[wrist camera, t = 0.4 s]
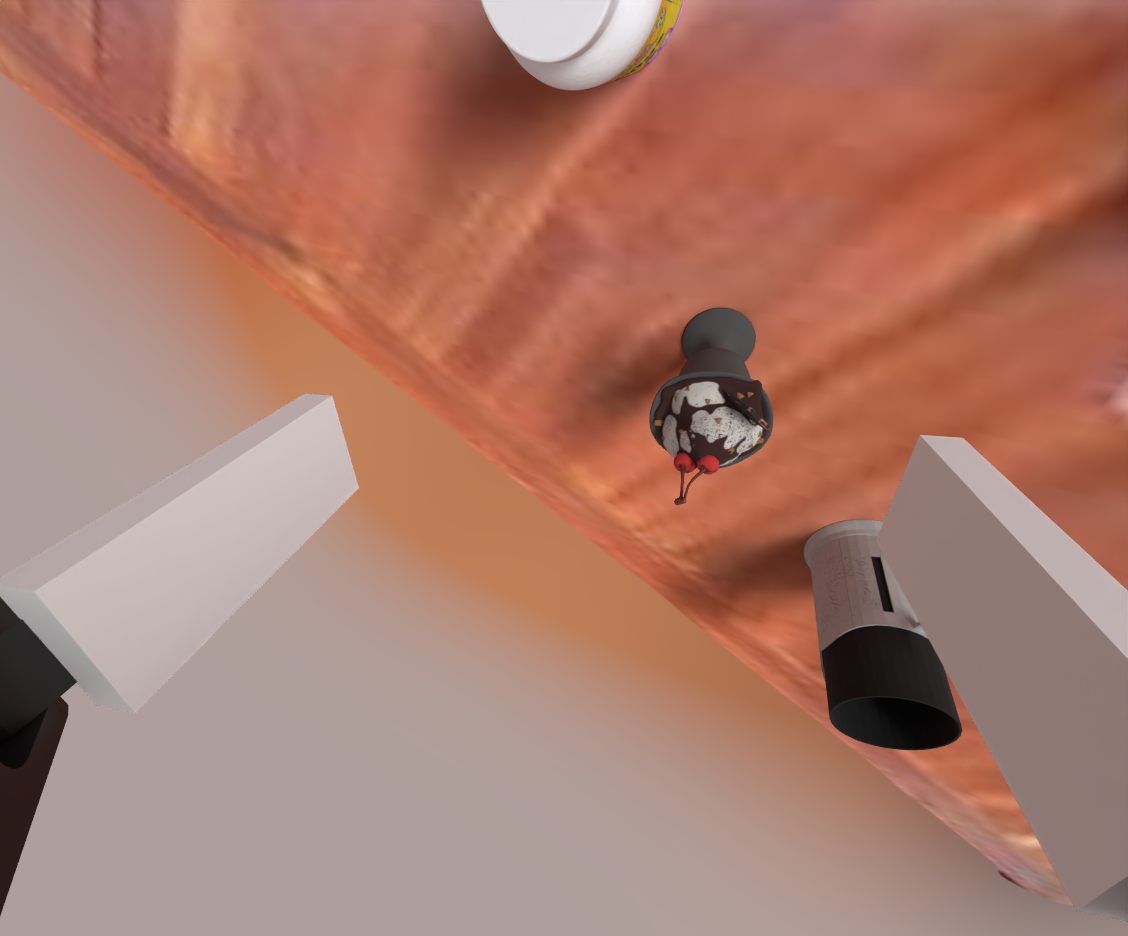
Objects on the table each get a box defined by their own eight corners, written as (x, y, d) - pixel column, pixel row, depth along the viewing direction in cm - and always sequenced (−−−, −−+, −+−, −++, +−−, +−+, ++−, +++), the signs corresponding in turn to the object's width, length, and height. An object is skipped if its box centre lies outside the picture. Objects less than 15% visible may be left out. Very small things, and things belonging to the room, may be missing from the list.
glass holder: (784, 560, 46) (793, 718, 36) (892, 461, 36) (950, 639, 26) (869, 595, 46) (904, 765, 35) (1001, 505, 36) (1106, 702, 25)
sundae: (671, 382, 37) (638, 523, 27) (669, 297, 33) (630, 423, 22) (763, 383, 35) (768, 536, 25) (773, 292, 31) (785, 428, 20)
